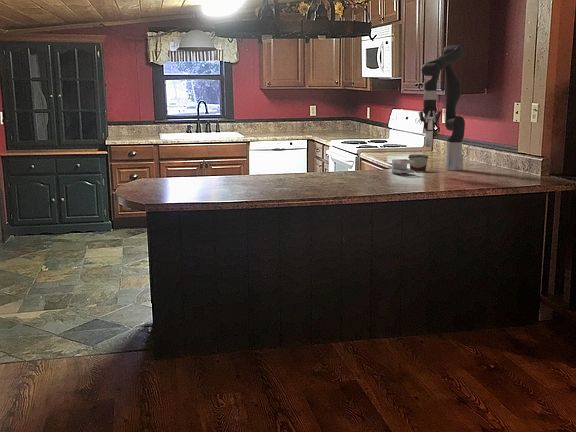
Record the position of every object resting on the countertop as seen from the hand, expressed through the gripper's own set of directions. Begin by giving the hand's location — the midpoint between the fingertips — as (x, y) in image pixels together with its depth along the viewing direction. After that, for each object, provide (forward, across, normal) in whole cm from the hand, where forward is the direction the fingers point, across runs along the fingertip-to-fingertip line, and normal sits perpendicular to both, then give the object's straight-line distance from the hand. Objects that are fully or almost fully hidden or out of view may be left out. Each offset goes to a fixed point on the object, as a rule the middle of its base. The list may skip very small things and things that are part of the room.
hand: (429, 128), depth 375 cm
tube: (+10, 0, 0) cm, 10 cm away
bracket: (+27, +12, -9) cm, 31 cm away
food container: (+27, -5, -21) cm, 35 cm away
